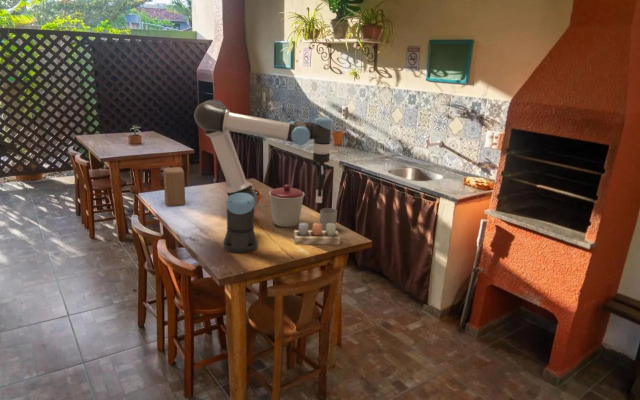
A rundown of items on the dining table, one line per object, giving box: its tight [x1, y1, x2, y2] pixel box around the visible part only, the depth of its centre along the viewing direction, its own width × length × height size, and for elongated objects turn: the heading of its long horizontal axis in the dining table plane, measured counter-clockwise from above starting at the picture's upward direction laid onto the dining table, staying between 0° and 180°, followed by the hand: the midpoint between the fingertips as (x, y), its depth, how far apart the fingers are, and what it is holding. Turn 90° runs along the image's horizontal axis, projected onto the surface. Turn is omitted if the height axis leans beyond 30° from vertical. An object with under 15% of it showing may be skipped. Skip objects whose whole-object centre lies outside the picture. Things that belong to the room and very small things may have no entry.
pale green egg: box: [326, 223, 337, 236], centre depth 213 cm, size 4×4×5 cm
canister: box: [268, 184, 305, 228], centre depth 230 cm, size 18×18×21 cm
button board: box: [293, 229, 341, 245], centre depth 213 cm, size 21×10×3 cm, turn 96°
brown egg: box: [311, 222, 322, 236], centre depth 212 cm, size 4×4×5 cm
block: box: [163, 166, 186, 207], centre depth 253 cm, size 10×10×20 cm
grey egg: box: [298, 222, 309, 236], centre depth 211 cm, size 4×4×5 cm
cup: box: [319, 207, 338, 231], centre depth 227 cm, size 8×8×10 cm
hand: (318, 202), depth 211 cm, fingers closed
